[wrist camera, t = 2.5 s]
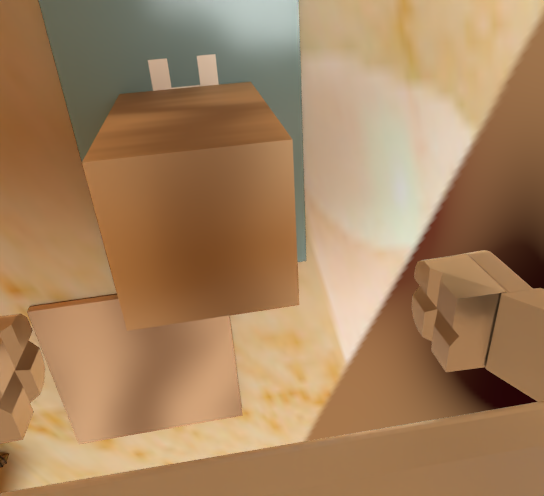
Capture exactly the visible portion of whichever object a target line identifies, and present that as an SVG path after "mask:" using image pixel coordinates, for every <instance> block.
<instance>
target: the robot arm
mask: <svg viewBox="0 0 544 496" xmlns="http://www.w3.org/2000/svg"><path fill="white" fill-rule="evenodd" d="M414 278H415V280H416V281H417V282H418V284H419V285H420V286H419V288H418V289H417V290H416V291H415V293H414V294H413V295H412V313H413V319H414V322H415V325H416V327H417V329H418V331H419V332H420V334H421V336H422V337H424V338H426V339H428V340H430V341H432V349H431V351H432V352H433V354H434V355H435V357H436V358H437V360H438V361H439V363H440V364H441V366H442V367H443V369H444V370H445V371H446V372H451V371H458V370H466V369H473V368H481V367H486V369H487V370H488V371H490V372H491V373H493V374H495V375H496V376H498V377H500V378H501V379H503V380H504V381H506V382H507V383H509V384H511V385H512V386H514V387H516V388H517V389H519V390H520V391H522V392H523V393H525V394H527V395H528V396H530V397H531V398H533V399H535V400H536V401H538V402H535V403H530V404H524V405H518V406H512V407H506V408H501V409H495V410H489V411H483V412H477V413H471V414H465V415H460V416H453V417H447V418H441V419H435V420H430V421H424V422H417V423H411V424H405V425H400V426H394V427H388V428H382V429H376V430H370V431H364V432H358V433H352V434H346V435H340V436H334V437H328V438H322V439H316V440H310V441H305V442H299V443H293V444H287V445H281V446H275V447H269V448H264V449H258V450H252V451H246V452H240V453H234V454H228V455H223V456H217V457H211V458H205V459H199V460H193V461H187V462H182V463H176V464H170V465H164V466H158V467H152V468H146V469H140V470H134V471H129V472H123V473H117V474H111V475H105V476H99V477H93V478H87V479H81V480H75V481H69V482H63V483H57V484H52V485H46V486H40V487H34V488H28V489H22V490H16V491H10V492H4V493H0V496H544V289H542V288H537V289H533V288H531V287H530V286H529V285H528V284H527V283H526V282H525V281H523V280H522V279H521V278H520V277H519V276H518V275H516V274H515V273H514V272H513V271H512V270H511V269H510V268H509V267H507V266H506V265H505V264H504V263H503V262H502V261H501V260H499V259H498V258H497V257H496V256H495V255H494V254H492V253H491V252H489V251H486V250H482V251H477V252H471V253H465V254H461V255H454V256H448V257H441V258H435V259H429V260H422V261H418V262H417V265H416V268H415V275H414ZM32 331H33V330H32V328H31V326H30V324H29V321H28V319H27V317H25V316H24V315H22V314H15V315H6V316H0V444H2V443H7V442H12V441H18V440H23V439H24V436H25V433H26V431H27V428H28V425H29V423H30V420H31V417H32V415H33V412H34V411H33V409H32V407H31V404H30V403H31V402H32V401H33V400H34V399H35V398H36V397H37V396H39V395H40V393H41V390H42V387H43V384H44V376H45V366H44V360H43V356H42V354H41V351H40V348H39V347H37V346H36V345H34V344H33V343H31V342H30V341H28V340H29V338H30V335H31V333H32Z"/></svg>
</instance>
